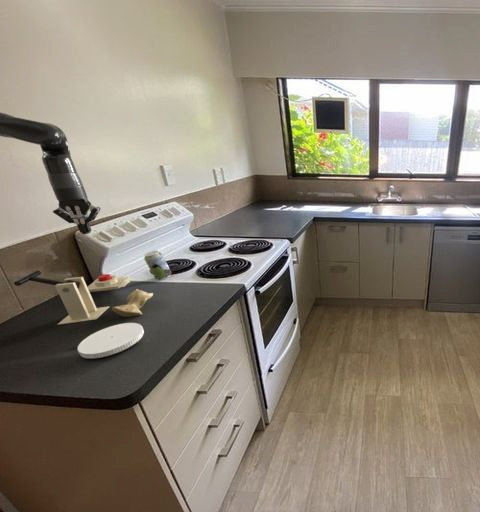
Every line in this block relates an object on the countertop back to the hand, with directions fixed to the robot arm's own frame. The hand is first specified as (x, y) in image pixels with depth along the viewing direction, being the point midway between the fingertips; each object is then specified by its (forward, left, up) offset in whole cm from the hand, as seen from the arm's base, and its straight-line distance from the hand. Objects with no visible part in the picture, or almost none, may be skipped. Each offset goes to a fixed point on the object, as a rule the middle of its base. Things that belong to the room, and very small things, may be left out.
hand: (86, 233), depth 106 cm
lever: (-1, -23, -10) cm, 25 cm away
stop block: (0, 0, -23) cm, 23 cm away
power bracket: (+4, -23, -23) cm, 33 cm away
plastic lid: (+20, -42, -23) cm, 52 cm away
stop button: (0, 0, -19) cm, 19 cm away
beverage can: (+17, +4, -23) cm, 29 cm away
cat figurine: (+19, -24, -23) cm, 38 cm away
